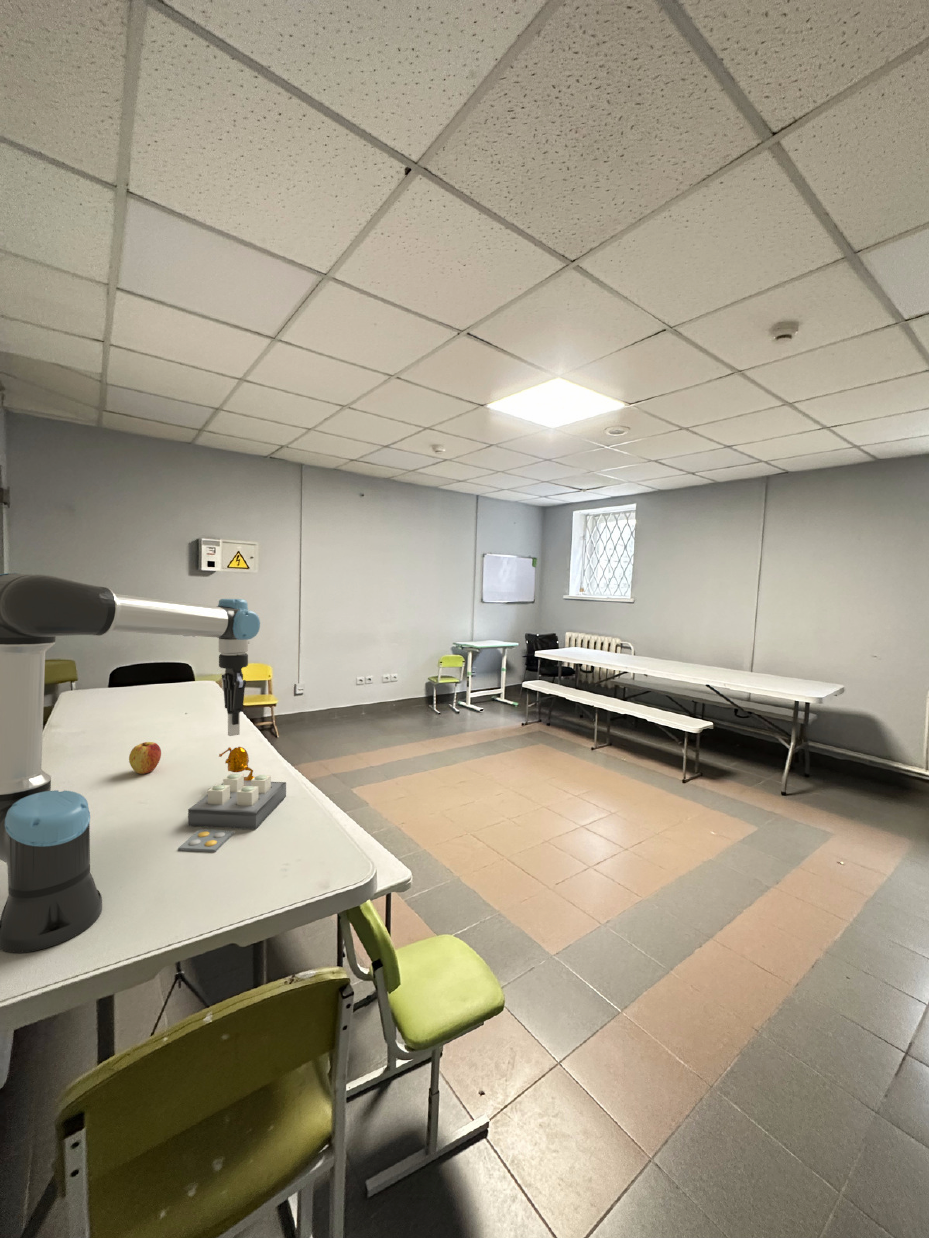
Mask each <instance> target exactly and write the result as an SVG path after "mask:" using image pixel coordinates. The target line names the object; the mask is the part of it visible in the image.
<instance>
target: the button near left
mask: <svg viewBox="0 0 929 1238" xmlns="http://www.w3.org/2000/svg"><path fill="white" fill-rule="evenodd" d="M207 795H208V804H219V805H223V804H225V803H226V802H227V801H228V800H229V799H230V785H221V784H214V785H213V786H212V787H211V788H209V789H208V790H207Z"/></svg>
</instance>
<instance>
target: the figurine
mask: <svg viewBox="0 0 929 1238" xmlns="http://www.w3.org/2000/svg"><path fill="white" fill-rule="evenodd" d="M228 751H229V754H228V758H226V760H225V763H224V764H227V772H231V773H242V772H244V771H248V772H249V773H248V775H247V776H244V780H245V781H251V780H252V779H253V778H254V777H255V776H254V775H253V773H254V769H252V768H251V767H249V761H250V760H249V759H250V758H249V753H248V751H247V750H246V749H245V748H244V747H242V746H238V747H234V748H233V749H232V748H231V747H230V746H229V747H228V748H227V749H226V750H224V751H222V752H221V753H219V755H218V757H221V758H222V757H223V755H224V754H226V753H227V752H228Z"/></svg>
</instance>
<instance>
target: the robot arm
mask: <svg viewBox="0 0 929 1238" xmlns="http://www.w3.org/2000/svg"><path fill="white" fill-rule="evenodd" d="M260 628H261V620H260V617H259V615H258V614H257V613H256V612H255V611H253V610H250V609H249V606H248V601H247V600H246V599H245V598H244V599H243V598H220V599H219V600H218V604H217V605H216V606H215V605H207V604H206V605H205V604H200V603H191V602H184V601H175V600H167V599H159V598H153V597H146V596H145V597H143V596H137V595H127V594H120V593H114V591H113V590H112V589H111V588H109V587H105V586H98V585H93V584H87V583H83V582H79V581H73V580H70V579H66V578H62V577H57V576H53V575H48V574H31V573H30V574H29V573H28V574H27V573H17V572H12V573H11V572H5V573H0V861H2V862H4V863H6V866H7V884H8V885H7V886H8V887H7V889H8V891H7V893H8V895H7V898H6V902H5V904H4V906H3V909H2V912H1V915H0V950H1V951H3V952H7V953H13V954H16V953H17V954H20V953H29V952H36V951H39V950H45V949H47V948H50V947H53V946H56V945H59V944H62V943H64V942H66V941H68V940H70V939H72V938H75V937H76V936H78V935H79V934H81V933H83V932H84V931H86V930H87V929H88V928H89V927H91V926H92V925H93V924H94V923H96V921H97V920H98V919H99V918H100V916H101V915H102V912H103V897H102V894H101V892H100V891H99V889H98V888H97V885H96V883H95V880H94V877H93V876H92V873H91V841H90V840H91V838H90V837H91V834H90V832H91V831H90V829H91V828H90V823H91V812H90V809H89V808H90V807H89V803H88V800H87V799H86V796H83V794H81V793H78V792H76V791H71V790H62V791H59V790H58V789H57V790H56V789H55V790H52V785H51V783H52V776H51V775H50V774H49V773H47V772H45V770H43V769H42V763H43V761H42V760H43V759H42V756H43V732H44V731H43V730H44V703H45V702H44V701H45V699H44V698H45V670H46V669H45V667H46V652H47V651H48V650H49V649H50V648H52V647H53V646H54V645H56V637H67V636H68V637H69V636H71V637H72V636H99V637H100V636H104V635H106V634H108V633H109V632H119V633H121V632H122V633H133V634H134V633H136V634H140V633H141V634H151V635H153V634H154V635H166V636H167V635H168V636H169V635H171V636H173V635H174V636H183V637H193V638H195V637H205V638H217V639H218V653H220V654H219V655H218V667H219V668H220V669H225V670H224V674H221V679H222V687H223V698H224V699H223V701H224V709H226V712H227V736H228V737H234V736H240V733H241V732H240V730H241V729H240V726H241V725H240V721H241V720H240V716H241V715H240V714H241V713H242V712H243V711H244V702H245V701H244V700H245V689H246V686H247V680H246V679H244V674H243V670H242V669H243V668H247V667H248V665H249V655H248V653H247V652H248V650H249V644H250V640H252V639H254V638H255V637H257V635H258V634H259V632H260Z"/></svg>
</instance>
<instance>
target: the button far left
mask: <svg viewBox="0 0 929 1238" xmlns="http://www.w3.org/2000/svg"><path fill="white" fill-rule="evenodd" d="M244 775H245V774H244V773H243V774H241V773H240V774H239V773H230V774H228V775H227V776H225V777H224V778H223V779H222V781H223V782H222V783H223V785H230V792H238V791H239V790H240V789H241V788H242V787H244V777H245V776H244Z"/></svg>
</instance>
